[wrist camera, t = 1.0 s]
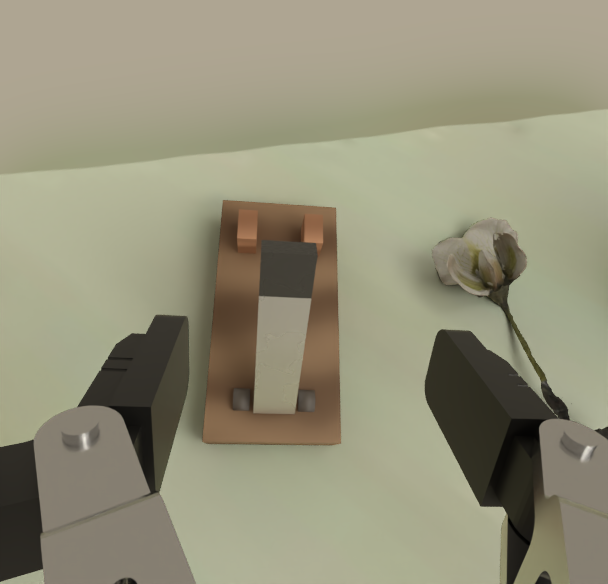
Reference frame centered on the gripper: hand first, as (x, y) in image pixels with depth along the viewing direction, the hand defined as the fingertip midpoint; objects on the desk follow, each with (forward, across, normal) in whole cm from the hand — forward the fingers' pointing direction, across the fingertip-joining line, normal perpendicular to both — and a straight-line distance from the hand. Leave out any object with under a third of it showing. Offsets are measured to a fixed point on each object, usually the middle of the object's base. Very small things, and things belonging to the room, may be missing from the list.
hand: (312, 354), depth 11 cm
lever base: (+25, 0, +12) cm, 28 cm away
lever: (+15, 0, +8) cm, 17 cm away
